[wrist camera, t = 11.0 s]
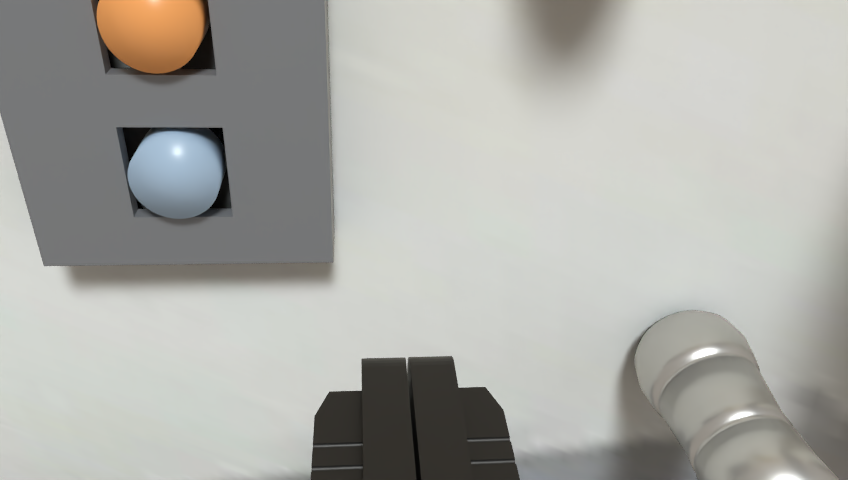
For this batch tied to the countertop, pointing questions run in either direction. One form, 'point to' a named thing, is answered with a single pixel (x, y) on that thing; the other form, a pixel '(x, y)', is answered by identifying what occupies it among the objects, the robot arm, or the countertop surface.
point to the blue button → (177, 171)
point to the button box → (172, 107)
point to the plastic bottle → (720, 402)
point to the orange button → (153, 31)
